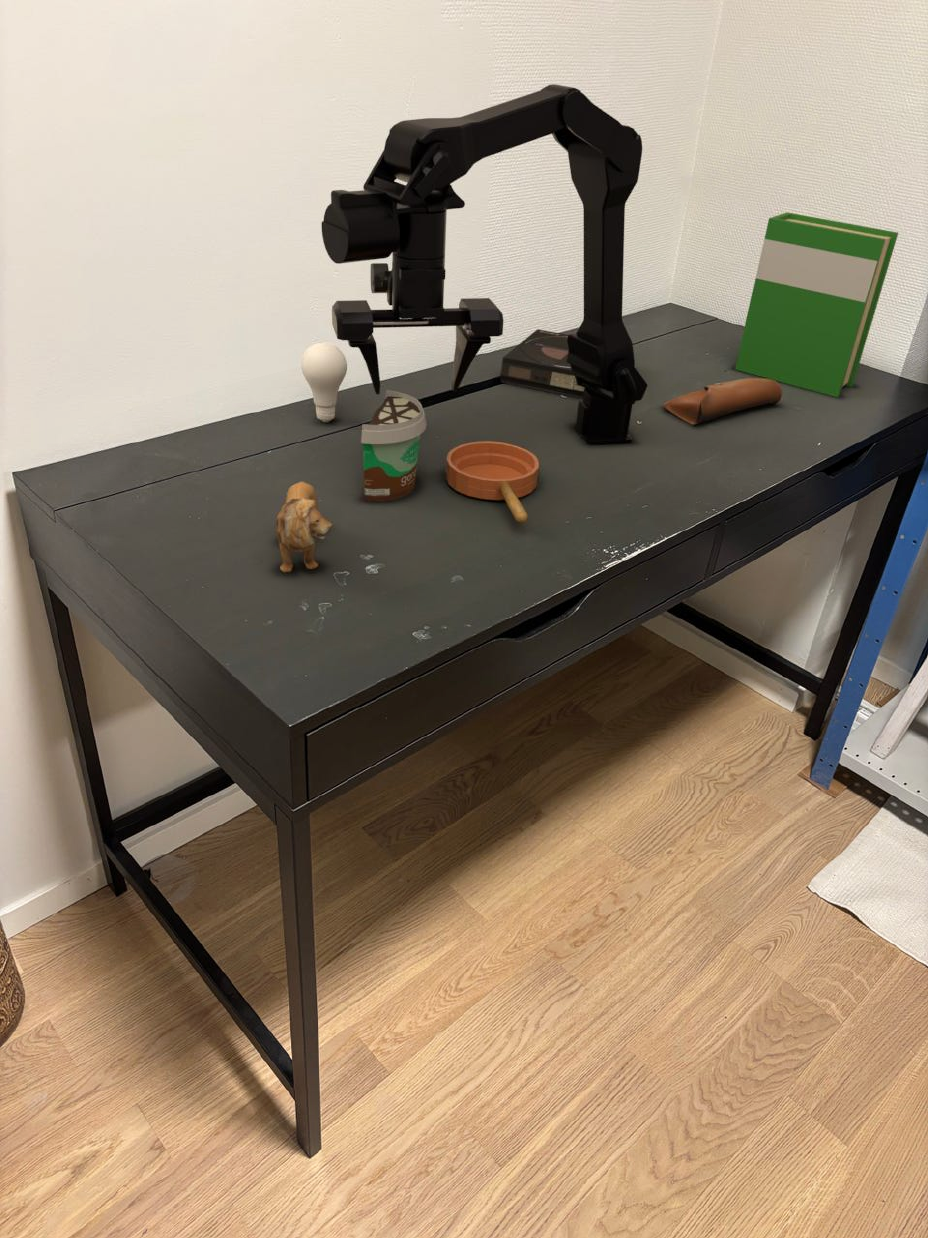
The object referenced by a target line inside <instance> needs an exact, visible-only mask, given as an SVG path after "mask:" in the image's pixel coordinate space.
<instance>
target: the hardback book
mask: <svg viewBox="0 0 928 1238" xmlns="http://www.w3.org/2000/svg"><path fill="white" fill-rule="evenodd" d="M898 236H899V232H898V231H892V230H888V229H887V230H886V229H880V228H875V227H870V226H866V225H865V226H863V225H860V224H854V223H847V222H842V221H836V220H831V219H826V218H821V217H815V216H810V215H804V214H799V213H794V212H793V213H792V212H787V211H786V212H783V213H780V214H777V215H775V216H771V217H769V218H768V221H767V226H766V230H765V235H764V239H763V243H762V247H761V253H760V257H759V262H758V265H757V270H756V275H755V279H754V284H753V286H752V287H753V288H752V292H751V297H750V301H749V305H748V311H747V316H746V319H745V324H744V327H743V328H744V329H743V332H742V337H741V340H740V346H739V351H738V354H737V358H736V364H735V368H734V370H736V371H739V372H743V373H746V374H747V373H748V374H751V375H753V376H758V377H760V378H764V379H771V380H775V381H777V382H778V383H783V384H787V385H791V386H794V387H798V388H801V389H805V390H809V391H813V392H816V393H819V394H823V395H827V396H831V397H834V398H839V397H840V395H841V392H842V388H843V387H844V386H845V387H849V388H852V387H853V386H854V382H855V379H856V376H857V373H858V369H859V366H860V363H861V359H862V356H863V353H864V349H865V347H866V343H867V339H868V336H869V333H870V329H871V326H872V322H873V320H874V316H875V312H876V309H877V306H878V303H879V299H880V296H881V292H882V289H883V286H884V282H885V279H886V276H887V272H888V270H889V267H890V263H891V261H892V260H891V259H892V257H893V253H894V249H895V247H896V242H897V239H898Z"/></svg>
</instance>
